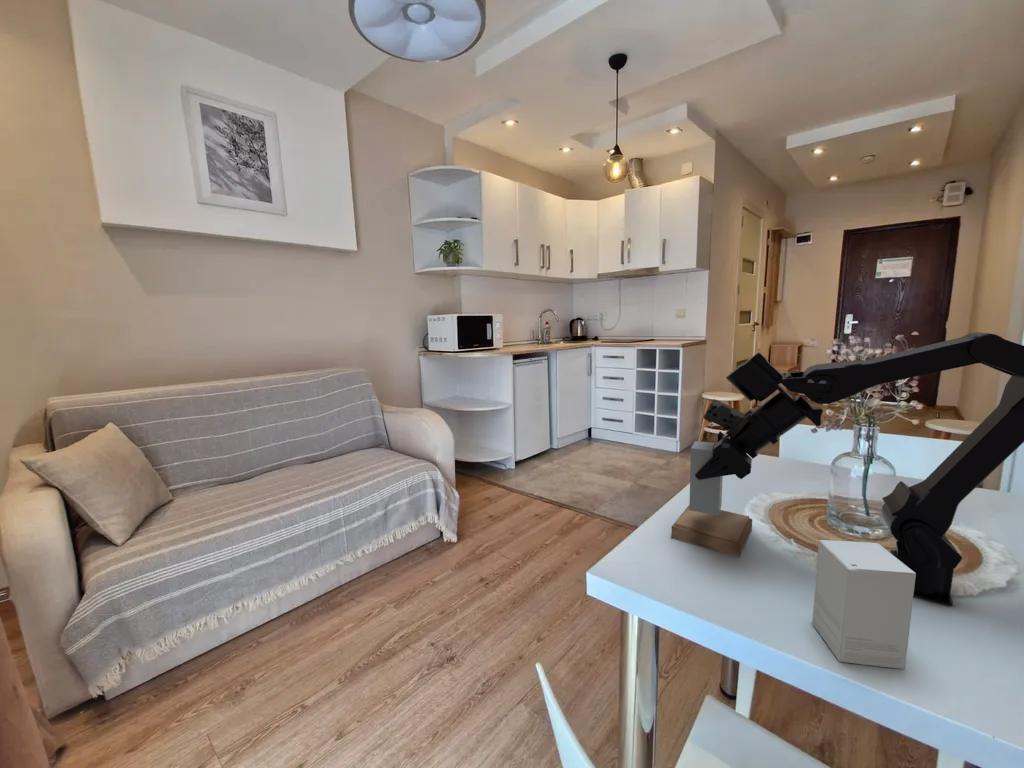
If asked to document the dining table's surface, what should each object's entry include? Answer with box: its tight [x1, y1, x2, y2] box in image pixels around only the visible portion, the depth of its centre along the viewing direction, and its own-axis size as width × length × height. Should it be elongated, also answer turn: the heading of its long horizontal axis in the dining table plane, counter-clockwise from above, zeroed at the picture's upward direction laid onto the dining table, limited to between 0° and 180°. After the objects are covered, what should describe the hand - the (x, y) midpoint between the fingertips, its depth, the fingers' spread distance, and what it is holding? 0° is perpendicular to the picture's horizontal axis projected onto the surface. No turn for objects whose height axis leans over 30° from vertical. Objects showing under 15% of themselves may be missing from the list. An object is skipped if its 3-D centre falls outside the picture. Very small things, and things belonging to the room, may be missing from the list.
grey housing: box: [688, 441, 724, 516], centre depth 81 cm, size 5×5×12 cm
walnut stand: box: [670, 505, 753, 558], centre depth 85 cm, size 12×12×3 cm
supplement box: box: [811, 539, 916, 670], centre depth 55 cm, size 7×7×13 cm
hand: (698, 472), depth 81 cm, fingers closed on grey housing, 5 cm apart
